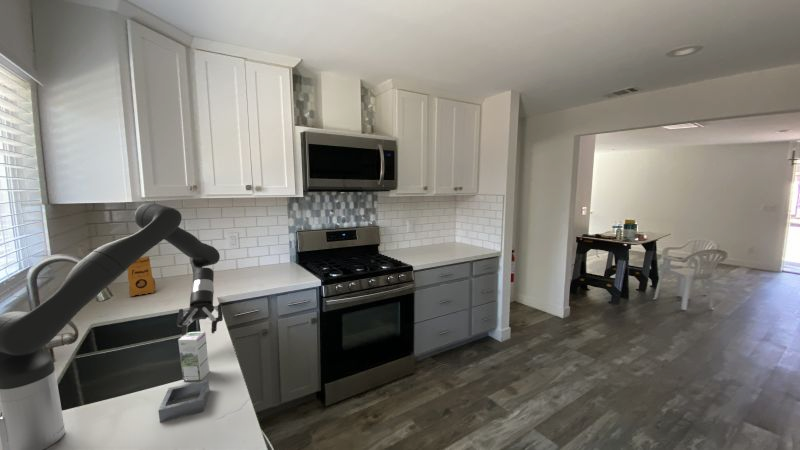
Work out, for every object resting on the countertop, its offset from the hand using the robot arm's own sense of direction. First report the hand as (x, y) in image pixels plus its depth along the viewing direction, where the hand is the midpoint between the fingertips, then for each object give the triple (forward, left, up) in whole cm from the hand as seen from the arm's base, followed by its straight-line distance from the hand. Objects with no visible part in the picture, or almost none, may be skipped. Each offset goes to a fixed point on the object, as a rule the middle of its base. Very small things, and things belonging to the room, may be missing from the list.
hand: (199, 334), depth 116 cm
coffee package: (-45, +98, -10) cm, 108 cm away
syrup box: (0, -12, -10) cm, 15 cm away
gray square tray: (0, -27, -9) cm, 28 cm away
